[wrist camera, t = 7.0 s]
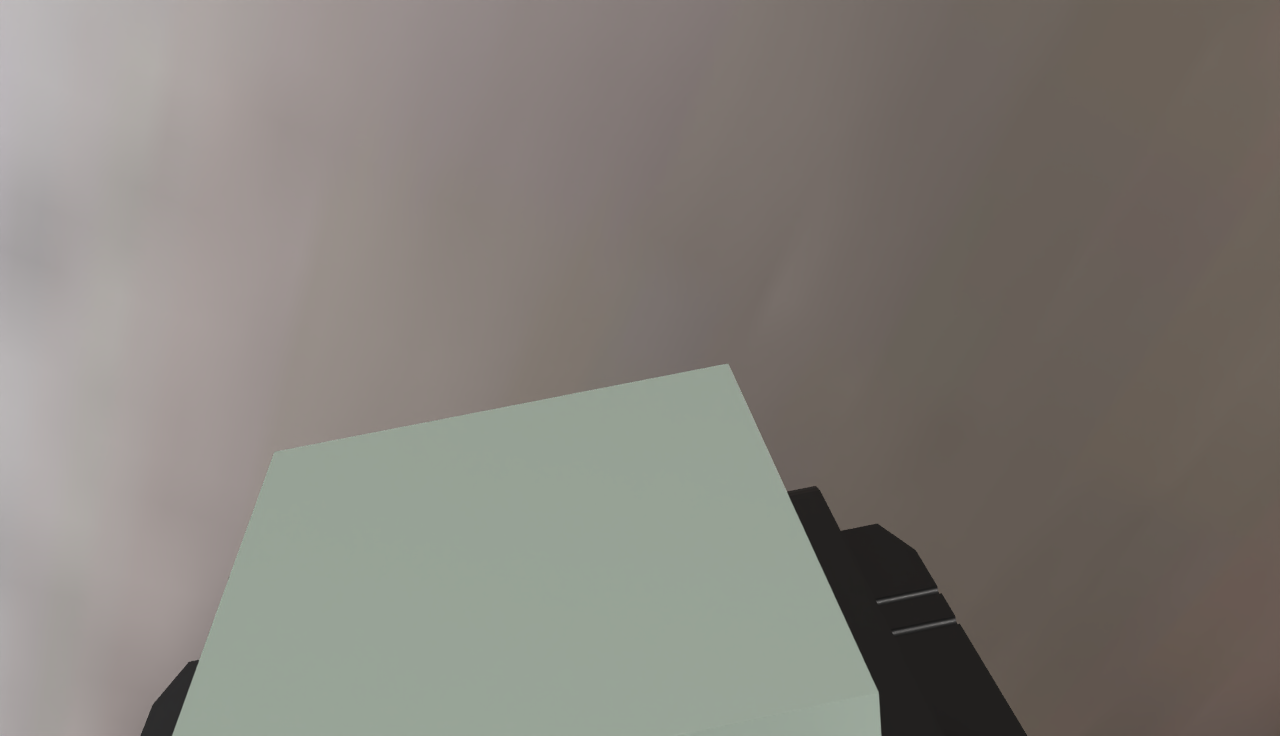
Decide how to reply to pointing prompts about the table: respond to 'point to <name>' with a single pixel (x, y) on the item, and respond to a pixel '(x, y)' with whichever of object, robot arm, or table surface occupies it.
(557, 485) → the sage cube
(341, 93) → the table surface
